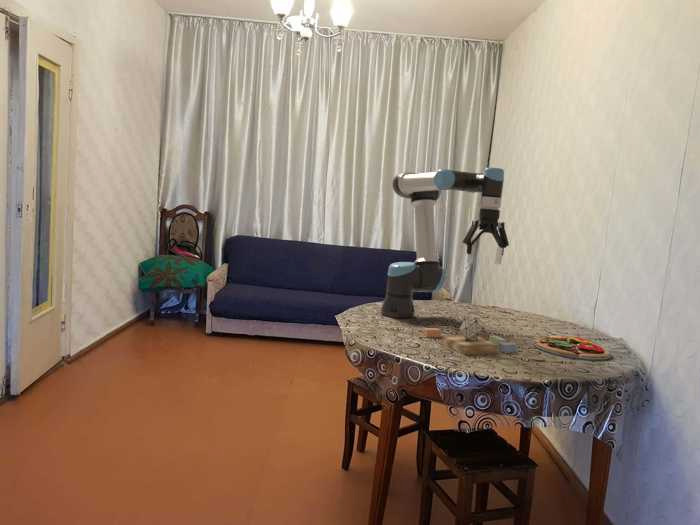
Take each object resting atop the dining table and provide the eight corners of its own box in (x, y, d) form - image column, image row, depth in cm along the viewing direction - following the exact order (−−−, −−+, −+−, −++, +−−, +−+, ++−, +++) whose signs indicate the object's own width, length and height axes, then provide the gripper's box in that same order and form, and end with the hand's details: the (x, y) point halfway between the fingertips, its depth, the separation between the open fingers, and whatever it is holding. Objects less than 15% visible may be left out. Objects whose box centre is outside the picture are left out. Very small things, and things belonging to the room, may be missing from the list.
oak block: (441, 343, 207) (442, 335, 207) (472, 342, 213) (473, 334, 213) (464, 354, 194) (465, 346, 194) (497, 353, 200) (498, 344, 200)
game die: (473, 351, 202) (486, 333, 196) (451, 340, 203) (463, 322, 197) (477, 335, 209) (490, 317, 203) (456, 324, 210) (468, 306, 203)
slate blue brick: (504, 353, 202) (505, 345, 201) (497, 351, 204) (498, 343, 204) (515, 352, 205) (516, 344, 205) (509, 350, 208) (510, 342, 207)
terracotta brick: (426, 337, 216) (426, 329, 215) (422, 335, 219) (423, 327, 218) (440, 337, 218) (441, 330, 217) (436, 335, 220) (437, 328, 220)
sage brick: (488, 343, 215) (489, 335, 214) (495, 343, 216) (495, 335, 216) (498, 347, 209) (499, 339, 209) (505, 347, 211) (506, 339, 210)
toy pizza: (621, 366, 199) (622, 353, 199) (538, 355, 204) (540, 343, 203) (600, 347, 227) (601, 336, 226) (528, 338, 231) (529, 327, 231)
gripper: (469, 206, 212) (463, 263, 214) (522, 211, 222) (515, 265, 225) (457, 205, 218) (451, 260, 221) (509, 210, 229) (503, 263, 231)
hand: (483, 263), depth 223 cm, fingers open, 13 cm apart
